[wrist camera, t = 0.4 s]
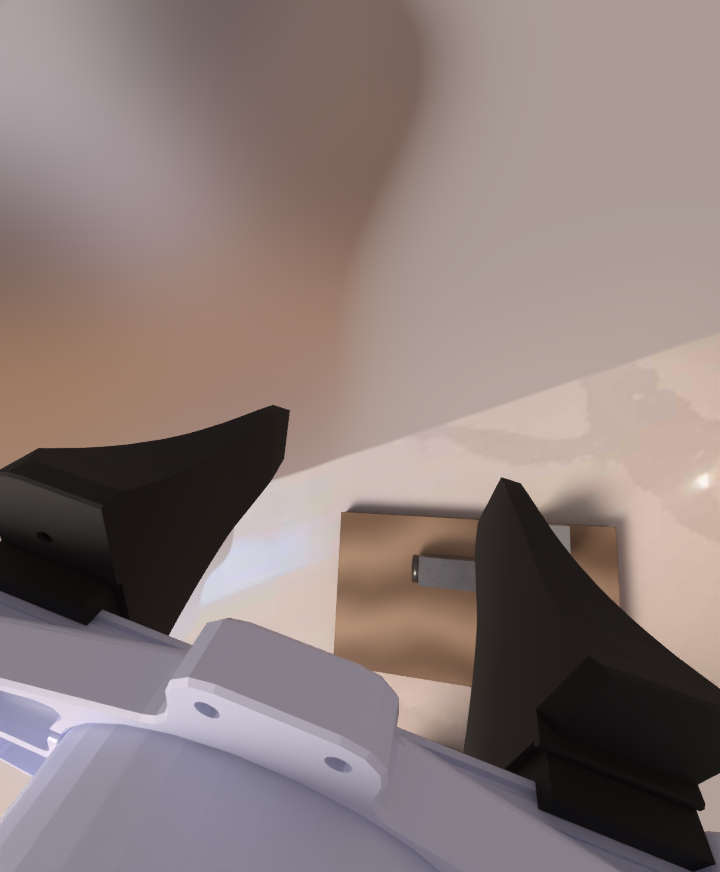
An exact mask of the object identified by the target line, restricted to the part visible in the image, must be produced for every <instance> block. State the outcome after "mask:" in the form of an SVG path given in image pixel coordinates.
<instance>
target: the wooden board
mask: <svg viewBox="0 0 720 872" xmlns="http://www.w3.org/2000/svg"><path fill="white" fill-rule="evenodd" d="M479 520H480V519H463V518H446V517H428V516H410V515H392V514H375V513H357V512H341V529H340V548H339V567H338V585H337V604H336V622H335V641H334V655H337V656H339V657H342V658H345V659H347V660H350V661H352V662H355V663H358V664H360V665H362V666H364V667H365V668H367V669H369V670H371V671H376V672H383V673H389V674H395V675H401V676H407V677H413V678H420V679H426V680H432V681H438V682H444V683H451V684H457V685H463V686H469V687H472V678H473V668H474V657H475V644H476V630H477V605H476V592H473V591H463V590H453V589H443V588H433V587H424V586H418V583H412V559H413V555H414V554H416V555H421V554H422V553H424V554H437V555H449V556H462V557H474V558H475V542H476V533H477V525H478V521H479ZM548 524H552V523H548ZM560 525H565V526H570V550H571V556H572V557H573V558H574V559H575V560H576V562H577V563H578V564H579V565H580V566H581V568H582V569H583V570H584V571H585V572H586V573H587V574H588V575H589V576H590V577H591V579H592V580H593V581H594V582H595V583H596V584H597V585H598V586H599V587H600V588H601V589H602V590H603V591H604V592H605V593H606V594H607V595H608V596H609V598H611V599H612V600H613V601H614V602H615V603H616V604H617V605H618V606H619V607H620V596H619V578H618V561H617V543H616V528H615V527H606V526H588V525H570V524H560Z"/></svg>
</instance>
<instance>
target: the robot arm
mask: <svg viewBox="0 0 720 872" xmlns="http://www.w3.org/2000/svg"><path fill="white" fill-rule="evenodd" d="M289 412H290V410H287V409H284V408H281V407H278V406H275V405H272V406H268V407H265V408H263V409H260V410H257V411H254V412H252V413H249V414H247V415H244V416H241V417H239V418H236V419H233V420H230V421H228V422H225V423H222V424H218V425H215V426H213V427H209V428H206V429H203V430H199V431H196V432H192V433H189V434H185V435H180V436H176V437H171V438H167V439H161V440H155V441H148V442H142V443H135V444H128V445H118V446H106V447H90V448H38V449H36V450H34V451H33V452H31V453H29V454H27V455H25V456H24V457H22V458H20V459H18V460H16V461H15V462H13V463H11V464H9V465H7V466H6V467H4V468H2V469H0V537H1V540H2V541H0V760H1V761H3V762H5V763H7V764H9V765H11V766H12V767H14V768H16V769H18V770H20V771H21V772H23V773H25V774H27V775H28V776H30V777H32V778H31V779H30V781H29V782H28V783H27V784H26V786H25V787H24V788H23V790H22V791H21V792H20V794H19V795H18V796H17V797H16V798H15V800H14V801H13V802H12V804H11V805H10V806H9V807H8V809H7V810H6V811H5V812H4V814H3V815H2V816H1V818H0V872H720V833H719V832H709V831H708V832H704V830H703V827H702V825H701V822H700V820H699V817H698V814H697V811H696V810H698V811H702V810H704V809H705V802H704V800H703V797H702V794H701V792H700V789H699V787H698V784H700V783H702V782H704V781H705V780H707V779H709V778H711V777H713V776H715V775H717V774H719V773H720V689H719V688H718V687H717V686H715V685H714V684H713V683H711V682H710V681H709V680H707V679H706V678H705V677H703V676H702V675H701V674H699V673H698V672H697V671H695V670H694V669H693V668H691V667H690V666H689V665H687V664H686V663H685V662H683V661H682V660H681V659H679V658H678V657H677V656H675V655H674V654H673V653H672V652H670V651H669V650H668V649H667V648H666V647H664V646H663V645H662V644H661V643H660V642H658V641H657V640H656V639H655V638H654V637H652V636H651V635H650V634H649V633H648V632H646V631H645V630H644V629H643V628H642V627H641V626H640V625H638V624H637V623H636V622H635V621H634V620H633V619H632V618H631V617H629V616H628V615H627V614H626V613H625V612H624V611H623V610H622V609H621V608H620V607H619V606H618V605H617V604H616V603H615V602H614V601H613V600H612V599H611V598H609V596H608V595H607V594H606V593H605V592H604V591H603V590H602V589H601V588H600V587H599V586H598V585H597V584H596V583H595V582H594V581H593V580H592V579H591V577H590V576H589V575H588V574H587V573H586V572H585V571H584V570H583V569H582V568H581V566H580V565H579V564H578V563H577V562H576V560H575V559H574V558H573V557H572V556H571V554H570V553H569V552H568V550H567V549H566V548H565V547H564V545H563V544H562V543H561V541H560V540H559V539H558V537H557V536H556V535H555V533H554V532H553V530H552V529H551V528H550V526H549V525H548V523H547V522H546V520H545V519H544V517H543V516H542V515H541V513H540V512H539V510H538V508H537V507H536V505H535V504H534V502H533V501H532V499H531V498H530V496H529V495H528V493H527V492H526V490H525V489H524V487H523V486H522V485H521V483H518V482H514V481H511V480H508V479H505V478H502V477H501V479H500V481H499V483H498V485H497V487H496V488H495V490H494V492H493V494H492V496H491V498H490V500H489V502H488V504H487V506H486V508H485V510H484V512H483V514H482V516H481V518H480V520H479V521H478V525H477V533H476V542H475V578H476V605H477V630H476V644H475V657H474V668H473V678H472V689H471V698H470V707H469V715H468V724H467V732H466V739H465V746H464V753H461V752H459V751H456V750H454V749H451V748H449V747H446V746H444V745H441V744H439V743H436V742H434V741H431V740H429V739H426V738H423V737H421V736H418V735H416V734H413V733H411V732H408V731H406V730H403V729H401V728H398V727H397V722H398V715H399V697H398V696H397V694H396V693H395V692H394V690H393V689H392V688H391V687H390V686H389V684H388V683H387V682H386V681H385V680H384V679H383V677H382V676H380V675H378V674H376V673H374V672H373V671H371V670H369V669H367V668H365V667H364V666H362V665H360V664H358V663H355V662H352V661H350V660H347V659H345V658H342V657H339V656H337V655H334V654H332V653H329V652H326V651H324V650H321V649H319V648H316V647H313V646H311V645H308V644H306V643H303V642H300V641H298V640H295V639H292V638H290V637H287V636H285V635H282V634H279V633H277V632H274V631H272V630H269V629H266V628H264V627H261V626H259V625H256V624H253V623H251V622H246V621H241V620H237V619H232V618H227V619H222V620H218V621H214V622H209V623H207V624H206V625H205V627H204V628H203V630H202V632H201V633H200V635H199V636H198V638H197V639H196V641H195V642H194V644H193V645H190V644H187V643H185V642H182V641H180V640H177V639H175V638H172V637H170V636H169V634H170V632H171V630H172V628H173V627H174V625H175V623H176V621H177V619H178V617H179V616H180V614H181V612H182V610H183V609H184V607H185V605H186V603H187V602H188V600H189V598H190V596H191V595H192V593H193V591H194V589H195V588H196V586H197V584H198V583H199V581H200V579H201V578H202V576H203V574H204V573H205V571H206V569H207V568H208V566H209V564H210V563H211V561H212V560H213V558H214V556H215V555H216V553H217V552H218V550H219V548H220V547H221V545H222V544H223V542H224V541H225V539H226V538H227V536H228V535H229V533H230V532H231V531H232V529H233V528H234V527H235V525H236V524H237V523H238V522H239V520H240V519H241V518H242V517H243V515H244V514H245V513H246V512H247V510H248V509H249V508H250V507H251V505H252V504H253V503H254V502H255V500H256V499H257V498H258V497H259V495H260V494H261V493H262V492H263V490H264V489H265V488H266V487H267V485H268V484H269V483H270V481H271V480H272V478H273V477H274V475H275V473H276V472H277V470H278V468H279V466H280V465H281V463H282V461H283V459H284V454H285V446H286V437H287V429H288V421H289Z"/></svg>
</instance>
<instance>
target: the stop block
mask: <svg viewBox="0 0 720 872" xmlns="http://www.w3.org/2000/svg"><path fill="white" fill-rule="evenodd" d="M548 525H549V526H550V528H551V529H552V530H553V532H554V533H555V535H556V536H557V537H558V539H559V540H560V541H561V543H562V544H563V545H564V547H565V548H566V549H567V550H568V552H569V553H570V554H571V550H570V526H565V525H560V524H548Z"/></svg>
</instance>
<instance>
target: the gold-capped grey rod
mask: <svg viewBox="0 0 720 872" xmlns="http://www.w3.org/2000/svg"><path fill="white" fill-rule="evenodd" d="M412 583H418V586H424V587H433V588H443V589H453V590H463V591H473V592H476V578H475V558H474V557H462V556H449V555H437V554H424V553H422V554H421V555H416V554H414V555H413V559H412Z"/></svg>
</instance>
